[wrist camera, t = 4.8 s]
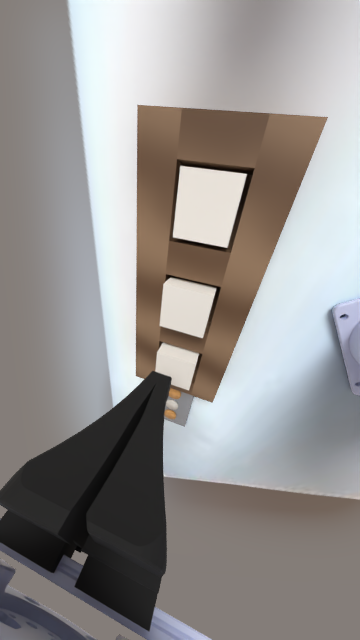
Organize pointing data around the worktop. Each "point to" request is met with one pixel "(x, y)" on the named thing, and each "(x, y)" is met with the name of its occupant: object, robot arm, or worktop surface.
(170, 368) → the far button
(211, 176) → the near button
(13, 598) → the robot arm
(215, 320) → the button panel
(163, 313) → the middle button
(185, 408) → the pattern card
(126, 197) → the worktop surface
